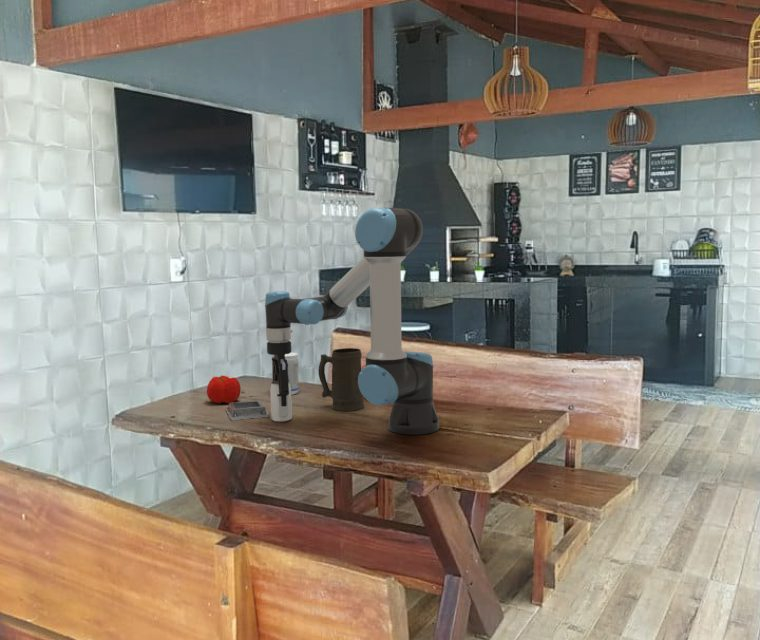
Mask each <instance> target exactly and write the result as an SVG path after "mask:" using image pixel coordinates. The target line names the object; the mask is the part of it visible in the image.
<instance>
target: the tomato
mask: <svg viewBox="0 0 760 640" xmlns="http://www.w3.org/2000/svg"><path fill="white" fill-rule="evenodd" d="M241 389H242V388H241V384H240V381H239V380H238V379H237V377H233V376H231V377H229V376H226V375H220V376H213V377H212V378H211V379H210V380H209V381H208V384H207V388H206V395H207V398H208V399H209V400H210V401H211V402H213V403H215V404H221V403H223V404H224V403H225V404H227V403H233V402H236V401H237V400H238V399H239V398H240V395H241Z"/></svg>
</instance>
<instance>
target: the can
mask: <svg viewBox="0 0 760 640" xmlns="http://www.w3.org/2000/svg"><path fill="white" fill-rule="evenodd" d="M288 385H289V395H288V416H283V417H279V397H278V396H277V394H279V386H278V381H273V382H272V381H271V385H270V389H269V391H270V392H269V393H270V416H271V417H270V418H271V421H273V422H276V423H286V422H289V421H291V420H292V418H293V409H292V408H293V406H292V395H291V386H290V384H289V381H288Z"/></svg>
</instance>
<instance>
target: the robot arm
mask: <svg viewBox="0 0 760 640" xmlns="http://www.w3.org/2000/svg"><path fill="white" fill-rule="evenodd" d="M354 229H355V230H354V234H355V236H354V237H355V240H356V243H357V244H358V245H359V247H360V248H361V249H362V250H363V257H361V259H360V260H358V262H357V263H355V265H354V266H353V267H352V268H351V269H350V270H349V271H348V272H346V274H345V275H343V276H342V278H340V279H339V280H338V281H337V282H336V283H335V284H334V285H333V286H332V287H331V289H329V290H328V291H327V292H326V293H325V294H324V295H322V296H318V297H317V296H315V297H309V298H308V297H307V298H291V297H290V292H289V291H286V290H285V291H284V290H283V291H282V290H276V291H275V290H274V291H267V293H266V294H265V297H264V298H265V301H264V308H265V319H266V320H265V322H266V323H265V324H266V325H265V331H266V333H265V334H266V337H265V338H266V341H267V343H266V352H267V354H268V355H270V356H271V355H272V357H271V364H272V365H271V367H272V366H273V381H278V386H279V394H277V396H278V397H279V417H283V416H288V395H289V385H288V363H287V360H285V354H289V353H291V352H292V342H291V341H290V340H291V339H292V334H291V333H293V329H291V328H292V327H291V324H297V325H298V324H299V325H300V324H301V325H307V326H309V325H317V324H319V322H322V321H328V320H337V319H340V318H342V317H344V316H345V315H346V314H347V312H348V307H349V306H350V304H352V303H353V302H354V300H356V299H357V298H358V297H359V296H360V295H361V294H362V293H363V292H364V291H366V289H367V288H369V302H370V303H369V307H370V308H369V309H370V310H369V311H370V314H369V315H370V317H369V320H370V351H368V353H366V354H365V365H366V367H364V368H363V369H362V368H361V372H360V373H359V376H358V386H359V389H360V391H361V393H362V395H363V397H364V398H365V399H366V400H367V402H369V403H371V404H372V405H375V406H385V405H390V404H392V405H393V406H392V408H391V411H390V415H389V416H388V417H389V418H388V420H387V421H388V422H387V423H388V424H387V425H388V428H387V429H388V430H389V431H390V432H392V433H396V434H400V435H412V436H414V435H415V436H417V435H427V434H432V433H435V432H437V431H438V430H439V429H440V420H439V417H438V414H437V411H436V407H435V405H434V361H433V356H432V354H430V353H427V352H422V351H421V352H419V351H405V350H403V349H402V347H403V345H402V276H401V275H402V271H401V264H402V262H403V261H404V260H405V259H406V258H407V256H408V255H409V254H410V253H411V252H412V251H413V250H414V249H415V248H416V247H417V246H418V245H419V243H420V241H421V239H422V237H423V232H424V227H423V222H422V220H421V218H420V217H419V216H418V214H417V213H416V212H414V211H413V210H411V209H409V208H403V207H402V208H400V207H399V208H397V207H386V206H385V207H382V206H381V207H374V208H369V209H367V210H366V211H364V212H363V213H362V215H360V217H359V218H358V220H357V222H356V224H355V228H354ZM273 355H274V357H273Z"/></svg>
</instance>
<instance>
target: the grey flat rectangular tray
mask: <svg viewBox="0 0 760 640" xmlns="http://www.w3.org/2000/svg"><path fill="white" fill-rule="evenodd" d="M225 411H227V412H226V413H227V416H228V418H229V419H230V421H231V420H233V421H241V420H240V419H243V420H251V419H250V418H254V419H263V417H265V418H269V417H270V414H269V413H270V412H268V411H267V408H266V406H265V404H264V403H263V401H261V400H260V399H257V400H246V401H234V402H232V403H229V404H228V407H226V408H225Z"/></svg>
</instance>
